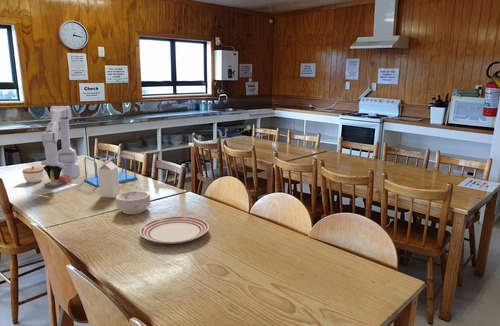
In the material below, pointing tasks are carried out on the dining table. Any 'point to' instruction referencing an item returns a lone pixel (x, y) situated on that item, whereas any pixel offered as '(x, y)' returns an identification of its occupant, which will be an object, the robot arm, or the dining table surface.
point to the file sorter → (121, 175)
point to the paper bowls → (133, 202)
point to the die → (64, 179)
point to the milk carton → (108, 179)
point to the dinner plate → (174, 229)
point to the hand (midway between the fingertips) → (54, 179)
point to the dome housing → (53, 184)
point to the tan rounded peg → (52, 177)
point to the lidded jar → (33, 174)
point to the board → (61, 188)
